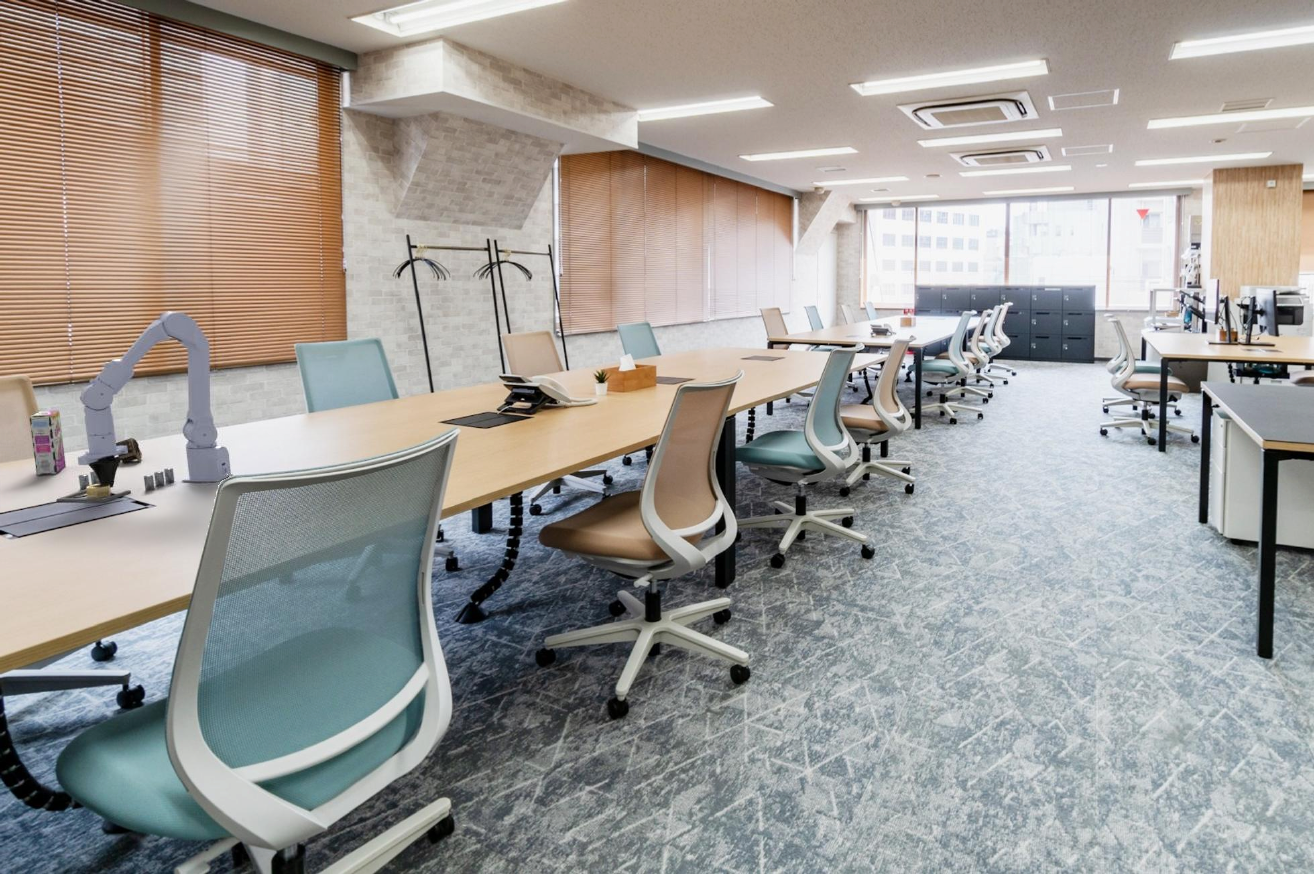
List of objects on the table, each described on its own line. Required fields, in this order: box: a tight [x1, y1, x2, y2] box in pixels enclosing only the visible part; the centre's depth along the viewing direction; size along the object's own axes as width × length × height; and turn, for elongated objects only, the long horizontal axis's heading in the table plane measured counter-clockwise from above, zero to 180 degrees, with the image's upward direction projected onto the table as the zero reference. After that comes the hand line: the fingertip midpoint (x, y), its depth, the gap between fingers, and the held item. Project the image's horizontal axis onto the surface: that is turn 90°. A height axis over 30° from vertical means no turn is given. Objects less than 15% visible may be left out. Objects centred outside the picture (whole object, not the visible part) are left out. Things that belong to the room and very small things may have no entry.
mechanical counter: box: [116, 437, 143, 464], centre depth 240 cm, size 7×13×10 cm
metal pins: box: [78, 467, 175, 491], centre depth 212 cm, size 19×10×4 cm, turn 87°
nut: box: [86, 484, 112, 499], centre depth 202 cm, size 5×5×2 cm
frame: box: [56, 490, 132, 503], centre depth 200 cm, size 12×9×1 cm
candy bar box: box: [28, 410, 67, 476], centre depth 228 cm, size 11×5×16 cm, turn 25°
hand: (107, 487), depth 205 cm, fingers closed
